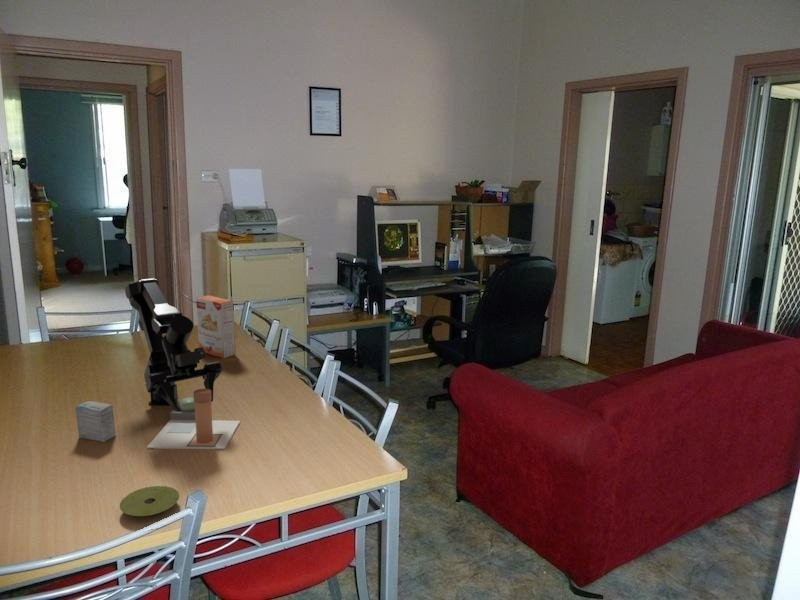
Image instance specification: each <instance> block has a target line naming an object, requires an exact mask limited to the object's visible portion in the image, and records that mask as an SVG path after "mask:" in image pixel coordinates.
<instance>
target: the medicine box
mask: <svg viewBox="0 0 800 600" xmlns="http://www.w3.org/2000/svg"><path fill="white" fill-rule="evenodd" d="M113 408H114V407H113V405H112V404H109V403H104V402H98V401H91V400H88V401H85V402H83V403H81V404H78V405H76V407H75V413H76V414H75V415H76V421H77V422H76V423H77V431H78V438H81V439H85V440H91V441H95V442H99V443H105V442H107V441H108V440H111V439H112V438H113V437H116V435H117V434H116V433H117V432H116V425H115V416H114V409H113Z"/></svg>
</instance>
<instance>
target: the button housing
mask: <svg viewBox="0 0 800 600" xmlns="http://www.w3.org/2000/svg"><path fill="white" fill-rule="evenodd" d="M177 407H178V409H177V410H175V409H174V408H173V409H172V410H171V411H170V412H169V418H170V419H169V421H170V420H195V412H180V401H179V402H178V403H177Z"/></svg>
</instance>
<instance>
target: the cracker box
mask: <svg viewBox="0 0 800 600" xmlns="http://www.w3.org/2000/svg"><path fill="white" fill-rule="evenodd" d="M195 302H196V303H195V304H196V317H197V333H198V335H197V336H198V348H200V347H203V349H204V351H205V354H208V355H210V356H214V357H217V358H220V359H223V360H224V359H228V358H231V357H233V356H236V337H235V336H236V335H235V314H234V300H230V299H227V298H222V297H218V296H215V295H214V296H213V295H207V294H206V295H202V296H198V297H196V298H195Z"/></svg>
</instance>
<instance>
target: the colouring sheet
mask: <svg viewBox="0 0 800 600" xmlns="http://www.w3.org/2000/svg"><path fill="white" fill-rule="evenodd" d="M240 423H241V420H219V419H218V420H215V419H214V420H213V419H212V427H213V440H212V441H211V442H209V443H204V444H202V443H198V442H197V441H196V423H195V420H170V419H169V421H168V422H167V423H166V424H165V425H164V427H163V428H162V429H161V430H160V431H159V432H158V434H157V435H156V436H155V437H153V439H152V441H151V442H149V444H148V445H147V446H146V449H151V448H153V449H159V450H161V449H162V450H163V449H164V450H171V449H172V450H225V449H226V447H227V446H228V444H229V443H230V441H231V439H232V437H233V435H234V434H235V432H236V430H237V429H238V427H239V425H240Z"/></svg>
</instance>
